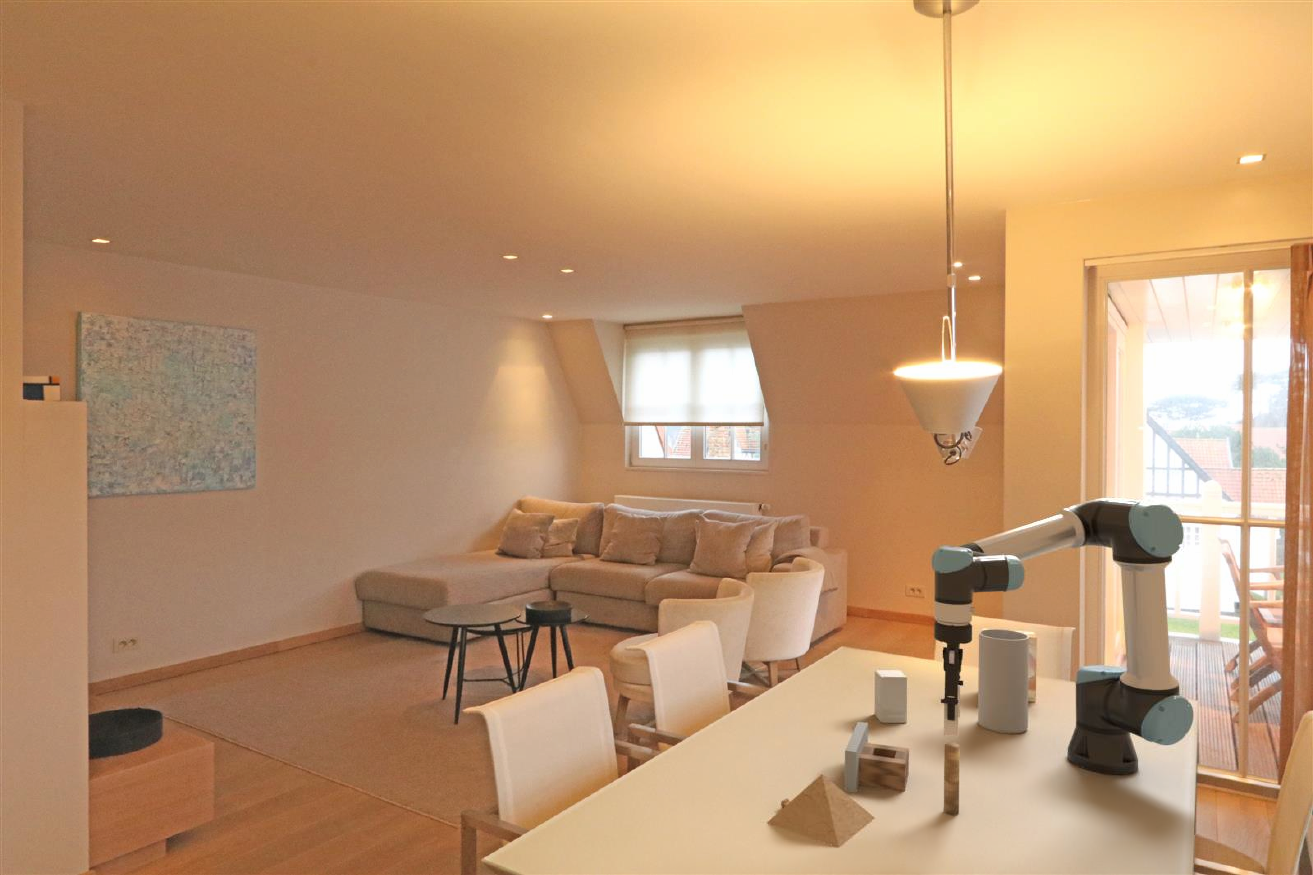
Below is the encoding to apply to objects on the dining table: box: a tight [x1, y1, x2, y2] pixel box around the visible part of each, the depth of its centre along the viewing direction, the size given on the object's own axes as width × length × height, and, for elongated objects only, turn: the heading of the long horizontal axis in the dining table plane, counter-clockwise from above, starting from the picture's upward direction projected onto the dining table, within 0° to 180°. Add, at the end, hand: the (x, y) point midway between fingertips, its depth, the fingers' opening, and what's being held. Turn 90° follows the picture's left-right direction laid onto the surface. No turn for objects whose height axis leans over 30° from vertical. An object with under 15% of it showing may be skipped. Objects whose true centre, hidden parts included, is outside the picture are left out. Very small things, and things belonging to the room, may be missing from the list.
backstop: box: [844, 721, 869, 794], centre depth 197 cm, size 2×20×9 cm, turn 159°
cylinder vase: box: [977, 628, 1029, 735], centre depth 230 cm, size 12×12×25 cm
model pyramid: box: [766, 773, 876, 848], centre depth 174 cm, size 17×17×10 cm
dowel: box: [943, 742, 961, 816], centre depth 178 cm, size 3×3×14 cm
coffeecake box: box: [981, 628, 1038, 703], centre depth 256 cm, size 15×7×20 cm, turn 73°
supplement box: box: [873, 669, 908, 724], centre depth 236 cm, size 7×7×13 cm
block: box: [859, 742, 910, 792], centre depth 195 cm, size 10×10×6 cm
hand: (952, 725), depth 178 cm, fingers open, 11 cm apart
